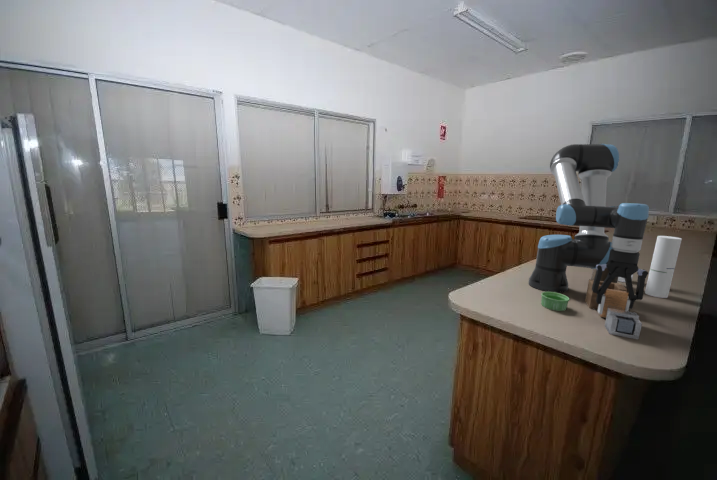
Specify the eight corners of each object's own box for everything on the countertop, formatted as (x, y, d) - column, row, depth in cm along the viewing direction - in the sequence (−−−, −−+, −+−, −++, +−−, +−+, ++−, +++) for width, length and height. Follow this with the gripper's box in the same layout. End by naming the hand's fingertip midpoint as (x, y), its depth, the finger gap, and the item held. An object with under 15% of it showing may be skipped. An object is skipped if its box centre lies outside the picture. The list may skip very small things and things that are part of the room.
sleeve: (609, 333, 96) (613, 315, 95) (604, 325, 101) (608, 308, 100) (638, 339, 93) (642, 320, 92) (631, 331, 98) (635, 312, 97)
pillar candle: (613, 288, 137) (620, 256, 134) (587, 282, 145) (593, 251, 142) (618, 284, 143) (625, 253, 140) (593, 279, 151) (599, 249, 148)
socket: (589, 308, 115) (593, 285, 114) (585, 300, 122) (589, 279, 121) (623, 314, 111) (628, 290, 109) (616, 306, 118) (621, 283, 116)
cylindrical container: (672, 298, 127) (686, 239, 122) (652, 296, 129) (665, 238, 124) (659, 292, 134) (672, 236, 129) (640, 290, 136) (653, 235, 130)
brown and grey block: (611, 333, 96) (617, 303, 94) (596, 309, 114) (601, 283, 112) (635, 338, 93) (642, 307, 91) (616, 313, 111) (622, 286, 109)
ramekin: (538, 300, 122) (539, 290, 121) (564, 304, 118) (566, 293, 117) (541, 309, 114) (543, 298, 113) (570, 313, 110) (572, 302, 109)
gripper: (592, 248, 103) (580, 312, 108) (668, 256, 95) (651, 325, 99) (587, 244, 110) (576, 305, 114) (658, 251, 101) (643, 316, 106)
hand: (611, 314), depth 107 cm, fingers closed on brown and grey block, 6 cm apart
